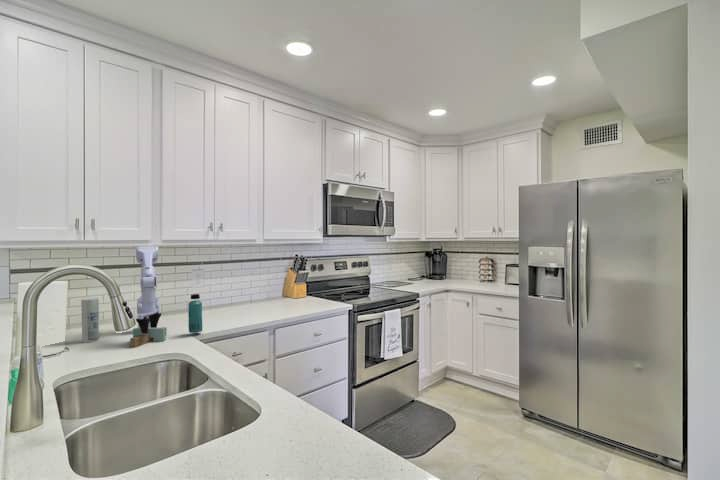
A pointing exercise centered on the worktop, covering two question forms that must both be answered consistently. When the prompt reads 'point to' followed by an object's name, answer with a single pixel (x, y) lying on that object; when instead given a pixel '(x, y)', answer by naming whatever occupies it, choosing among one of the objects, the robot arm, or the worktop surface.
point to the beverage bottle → (195, 315)
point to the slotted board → (140, 340)
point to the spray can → (90, 319)
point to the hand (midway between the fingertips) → (149, 331)
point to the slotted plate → (152, 333)
